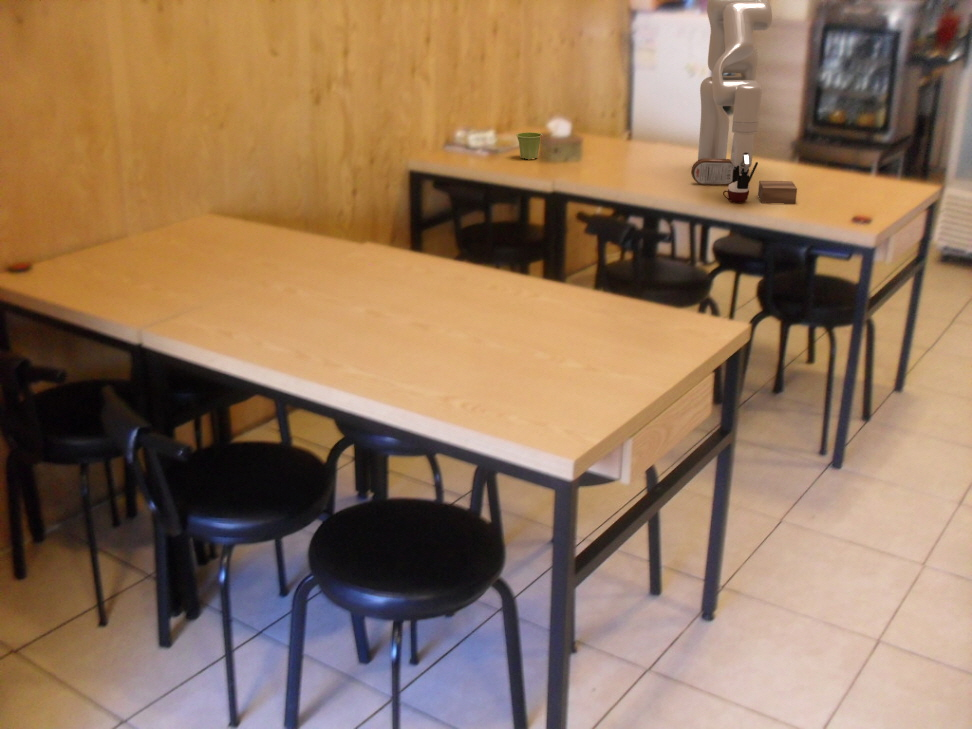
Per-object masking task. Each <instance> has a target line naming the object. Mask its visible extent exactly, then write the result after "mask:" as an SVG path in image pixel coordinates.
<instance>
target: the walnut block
mask: <svg viewBox="0 0 972 729" xmlns="http://www.w3.org/2000/svg"><path fill="white" fill-rule="evenodd" d="M757 190H758V191H757V196H759V197H758V199H759V198H760V199H759V201H760V203H761V204H771V203H784V204H783V205H796V204H797V203H796V201H797V192H798V187H797V186H796V184H794V182H793V181H792V180H791V181H790V180H758V189H757Z"/></svg>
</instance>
